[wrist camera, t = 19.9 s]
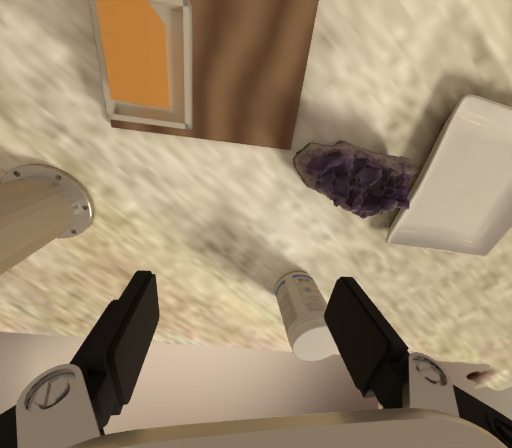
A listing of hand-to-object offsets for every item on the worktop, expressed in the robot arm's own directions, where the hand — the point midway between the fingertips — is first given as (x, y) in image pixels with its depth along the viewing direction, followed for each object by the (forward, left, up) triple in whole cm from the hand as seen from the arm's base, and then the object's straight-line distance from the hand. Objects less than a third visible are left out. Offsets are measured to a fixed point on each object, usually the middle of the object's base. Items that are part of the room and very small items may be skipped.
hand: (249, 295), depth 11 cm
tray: (-13, +13, -27) cm, 33 cm away
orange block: (-13, +13, -27) cm, 32 cm away
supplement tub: (+16, -25, -28) cm, 41 cm away
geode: (+19, +2, -29) cm, 35 cm away
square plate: (+46, +2, -29) cm, 54 cm away
